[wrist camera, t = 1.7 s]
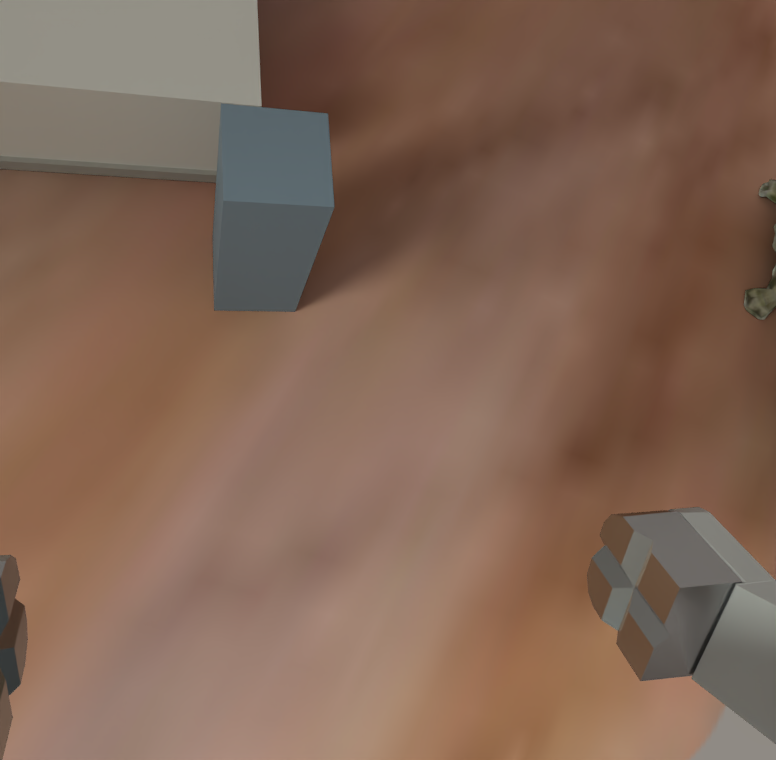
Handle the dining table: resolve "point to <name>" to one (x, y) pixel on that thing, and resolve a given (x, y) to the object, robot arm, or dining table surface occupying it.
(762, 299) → the samovar
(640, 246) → the dining table surface
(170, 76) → the riser
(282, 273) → the grey tall block
